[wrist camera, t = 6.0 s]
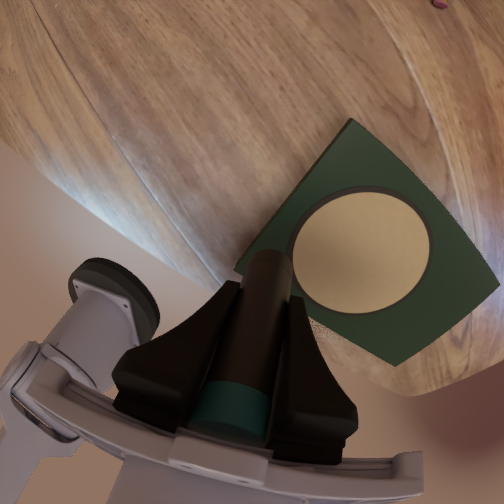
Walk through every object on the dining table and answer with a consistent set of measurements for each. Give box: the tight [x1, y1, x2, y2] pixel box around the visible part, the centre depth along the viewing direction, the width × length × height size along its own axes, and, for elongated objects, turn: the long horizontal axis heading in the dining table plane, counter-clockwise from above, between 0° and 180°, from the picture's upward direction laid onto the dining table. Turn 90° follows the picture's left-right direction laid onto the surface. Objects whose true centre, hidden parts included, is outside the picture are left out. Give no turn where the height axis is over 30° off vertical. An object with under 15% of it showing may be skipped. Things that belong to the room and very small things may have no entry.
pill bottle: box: [188, 249, 293, 447], centre depth 12 cm, size 3×3×10 cm
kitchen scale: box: [234, 118, 500, 367], centre depth 20 cm, size 20×14×1 cm
